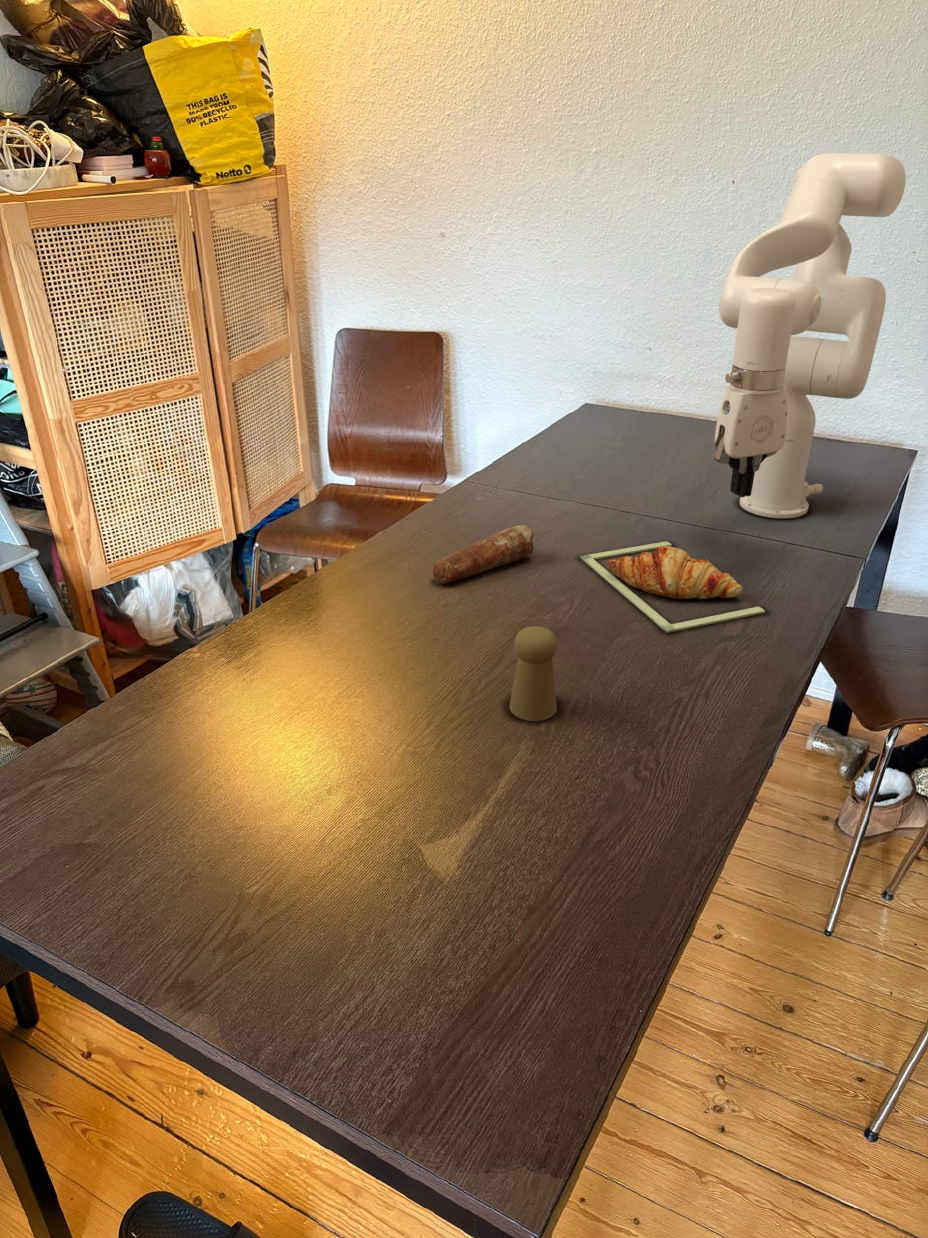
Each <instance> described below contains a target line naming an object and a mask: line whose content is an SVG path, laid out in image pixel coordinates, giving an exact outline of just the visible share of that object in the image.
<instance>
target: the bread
mask: <svg viewBox="0 0 928 1238" xmlns="http://www.w3.org/2000/svg"><path fill="white" fill-rule="evenodd" d="M533 539H534V530H533V529H532V528H530V527H528V526H527V525H524V524H521V525H520V524H518V525H516V526H511V527H509V528H506V529H504V530H501V531H499V532H497V533H494V534H492V535H490V536H488V537H486V538H484V539H481V540H478V541H476V542H474V543H473V544H470V545H469V546H465V547H464V548H462V549H459V550H457V551H455V552H453V553H451V554H448V555H447V556H445V557H443V558H442V559H439V560H438V561H435V562H434V564H433V566H432V576H433V579H434V580H435V581H436V582H437V583H439V584H442V585H447V584H450V583H453V582H456V581H459V580H462V579H466V578H468V577H469V578H470V577H472V576H475V575H478V574H481V573H483V572H487V571H489V570H492V569H495V568H498V567H501V566H503V565H507V564H510V563H514V562H517V561H519V560H522V559H524V558H527V557H528V556H531V555H532V554H533V552H534V542H533Z"/></svg>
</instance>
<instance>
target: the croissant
mask: <svg viewBox="0 0 928 1238" xmlns="http://www.w3.org/2000/svg"><path fill="white" fill-rule="evenodd" d="M607 565H608V569H609V571H610V572H611V573H612V574H614V575H616V576H617V577H619V578H620V579H622V580H623V581H624V583H626V584H627V585H628V586H630V587H632V588H634V589H639V590H641V591H643V592H646V593H649V594H652V595H655V596H663V597H667V598H671V599H676V600H677V599H680V600H681V599H683V600H685V599H696V598H698V599H700V600H706V599H709V598H710V599H714V598H716V597H718V598H722V599H729V598H736V597H738V596H740V595H741V594H742V592H743V586H742V584H739V583H738V582H737V580H735V578H734V577H733V576H731V574H729V573H727V572H721V571H720V569H718V568H717V567H715V564H713V563H712V562H711V561H710V559H696V558H692V557H691V556H690V554H689V553H688V552H687V551H685V550H683V549H681V548H678V547H674V546H671V547H669V546H660V547H658V548H657V549H654V550H653V552H648V551H642V552H640V553H639V554H638V555H637V556H635V557H632V556H630V555H629V556H628V555H625V556H621V557H619V558H618V559H616V558H610V559H609V560H608V563H607Z"/></svg>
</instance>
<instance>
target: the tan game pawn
mask: <svg viewBox="0 0 928 1238" xmlns="http://www.w3.org/2000/svg"><path fill="white" fill-rule="evenodd" d="M557 650H558V640H557V637H556V635H555V634H554V632H553V631H552V630H551V629H549V628H547V627H543V626H538V625H532V626H528V627H524V628H522V629H521V630H519V631H518V632H517V634H516V636H515V637H514V651H515V653H516V655H517V656H518V657H517V663H516V666H515V667H516V668H515V672H514V679H513V685H512V689H511V694H510V700H509V707H508V708H509V710H510V713H511V714H513V716H515V717H516V718H518V719H520V720H523V721H528V722H539V721H545V720H548V719H550V718H552V717H553V716H555V714H556V713H557V711H558V706H557V705H558V704H557V695H556V684H555V675H554V663H553V657H555V655H556V653H557Z"/></svg>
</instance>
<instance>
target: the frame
mask: <svg viewBox="0 0 928 1238" xmlns="http://www.w3.org/2000/svg"><path fill="white" fill-rule="evenodd" d="M660 546H669V547H673V546H672V543H670V542H669V541H668V540H667V541H666V540H665V541H661V542H654V543H649V544H641V545H637V546H632V547H631V546H630V547H625V548H620V549H613V550H608V551H602V552H597V553H590V554H583V555H580V556H579V557H580V558H579V559H581V560H582V561H583V562H584V563H585V564H586V565H587V566H589V567H590V568H591V569H592V570H593V571H595V572H596V573H597V574H598V575H599V576H601V577H602V578H603V579H604V580H605V581H606V582H607V583H608V584H610V585H611V586H612V587H613V588H614V589H615V590H617V591H618V592H619V593H620V594H621V595H622V596H623V597H625V598H626V599H627V600H628V601H629V602H631V603H632V604H633V605H634V606H635V607H636V608H638V609H639V610H640V611H641V612H642V613H643V614H645V616H646V617H648V618H649V619H650V620H651V621H653V622H654V623H655V624H656V625H657V626H658V627H659V628H661V629H662V630H663V631H664V632H665V633H666V634H668V633H674V632H679V631H683V630H689V629H694V628H698V627H703V626H707V625H713V624H717V623H718V624H719V623H722V622H723V623H724V622H728V621H733V620H736V619H741V618H746V617H751V616H757V615H762V614H766V610H765V609H763V608H762V607H761V606H753V607H750V608H749V607H748V608H744V609H739V610H735V611H729V612H725V613H719V614H715V615H710V616H705V617H700V618H696V619H695V618H694V619H691V620H685V621H680V622H675V623H670V622H668V620H666V619H665V618H664V617H663V616H661V614H659V613H658V612H657V611H656V610H655V609H653V608H652V607H651V606H650V605H649V604H647V602H645V601H644V600H643V599H642V598H640V597H639V596H638V595H637V594H635V592H633V591H632V590H631V589H629V587H627V586H626V585H625V584H624V583H623V582H621V581H620V580H619V579H618V578H616V577H615V575H613V573H611V572H609V571H608V570H607V569H606V568H605V567H603V566H602V565H601V564H600V563H599V562H598V561H596V560H600V559H606V558H613V557H618V556H624V555H625V556H626V555H630V554H635V553H636V554H637V553H642V552H648V551H654V550H656V549H657V548H658V547H660Z"/></svg>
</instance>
